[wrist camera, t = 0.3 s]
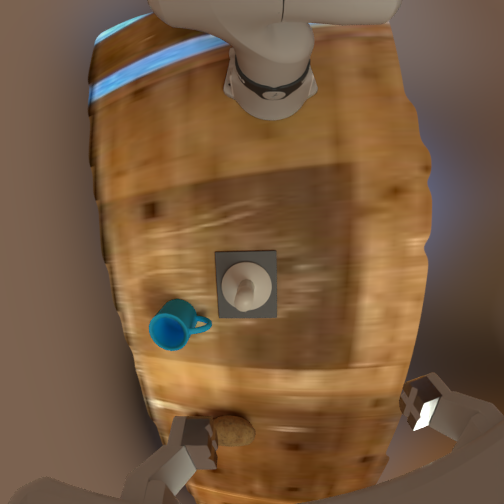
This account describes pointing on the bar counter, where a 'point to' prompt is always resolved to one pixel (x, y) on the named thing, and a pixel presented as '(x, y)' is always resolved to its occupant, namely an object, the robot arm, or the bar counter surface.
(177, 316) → the mug
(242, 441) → the potato
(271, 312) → the mat
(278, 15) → the robot arm
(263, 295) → the white post stand
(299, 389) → the bar counter surface
